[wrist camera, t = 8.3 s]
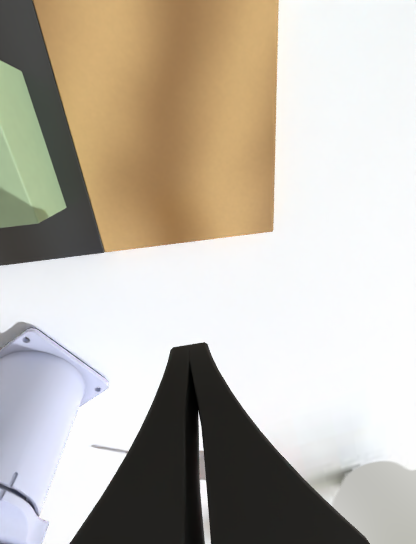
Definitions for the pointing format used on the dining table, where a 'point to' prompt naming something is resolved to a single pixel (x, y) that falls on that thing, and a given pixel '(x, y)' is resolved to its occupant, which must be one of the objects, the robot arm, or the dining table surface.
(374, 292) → the dining table surface
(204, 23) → the board
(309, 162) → the dining table surface
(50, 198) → the sage block
